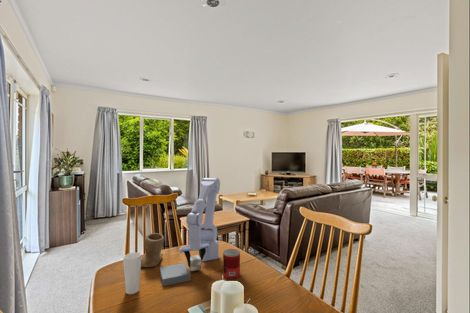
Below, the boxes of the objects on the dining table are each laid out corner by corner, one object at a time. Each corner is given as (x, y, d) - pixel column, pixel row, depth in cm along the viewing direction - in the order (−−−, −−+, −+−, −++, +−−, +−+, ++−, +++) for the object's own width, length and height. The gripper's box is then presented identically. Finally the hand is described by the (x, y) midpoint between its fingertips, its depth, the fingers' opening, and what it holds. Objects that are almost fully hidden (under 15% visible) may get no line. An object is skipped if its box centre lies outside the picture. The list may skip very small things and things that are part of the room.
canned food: (243, 274, 113) (243, 251, 113) (231, 281, 107) (231, 256, 107) (231, 269, 118) (231, 247, 118) (219, 275, 112) (219, 252, 112)
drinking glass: (130, 298, 95) (129, 260, 94) (120, 292, 98) (119, 256, 98) (144, 289, 100) (144, 254, 100) (134, 285, 104) (134, 250, 104)
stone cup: (160, 269, 119) (160, 239, 119) (136, 269, 118) (136, 239, 118) (168, 256, 134) (168, 229, 134) (147, 256, 134) (146, 229, 134)
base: (184, 268, 119) (184, 262, 119) (190, 280, 108) (190, 273, 108) (159, 273, 114) (159, 267, 114) (162, 286, 103) (162, 279, 103)
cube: (198, 264, 120) (198, 254, 120) (201, 269, 115) (201, 258, 115) (188, 266, 118) (188, 256, 118) (190, 271, 113) (190, 260, 113)
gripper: (181, 242, 110) (181, 271, 110) (211, 237, 116) (211, 265, 116) (178, 237, 117) (178, 265, 117) (207, 233, 122) (207, 259, 122)
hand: (194, 264), depth 117 cm, fingers closed on cube, 5 cm apart
